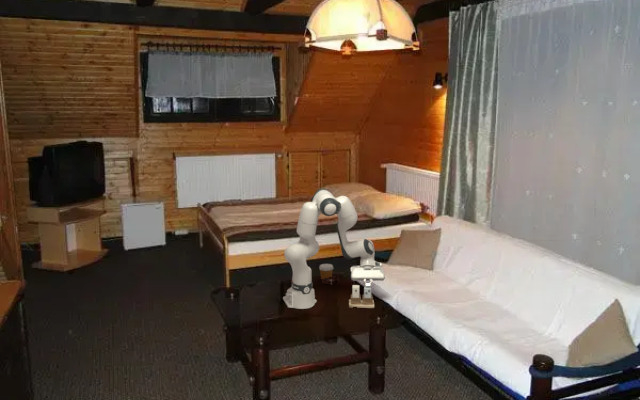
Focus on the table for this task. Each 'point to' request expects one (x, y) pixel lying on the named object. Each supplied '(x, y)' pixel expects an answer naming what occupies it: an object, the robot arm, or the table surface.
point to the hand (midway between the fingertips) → (368, 286)
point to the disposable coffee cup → (326, 270)
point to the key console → (361, 302)
